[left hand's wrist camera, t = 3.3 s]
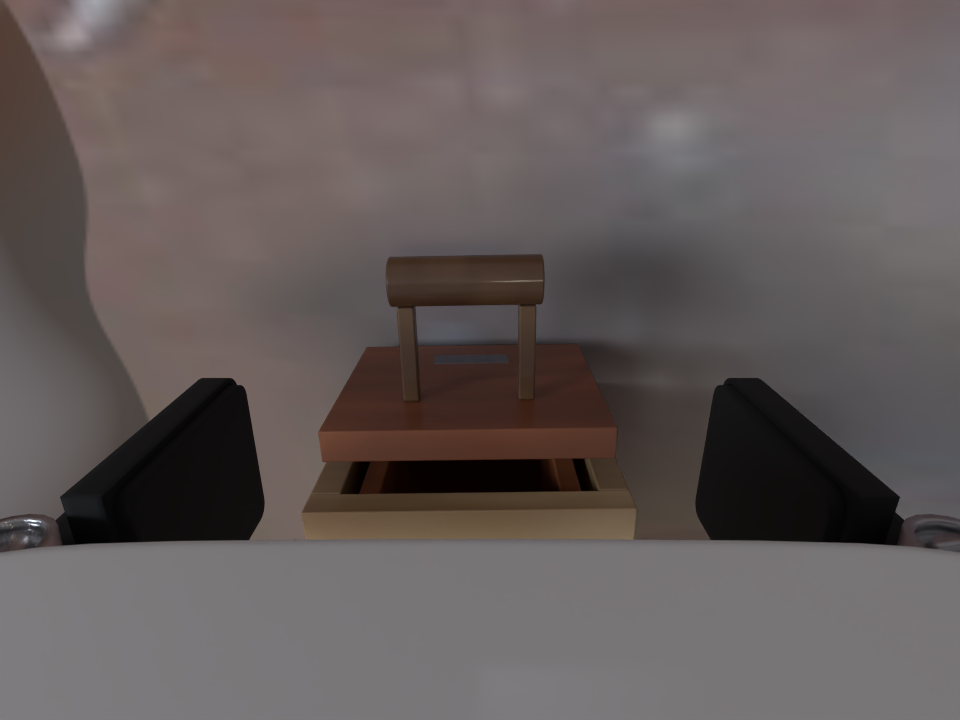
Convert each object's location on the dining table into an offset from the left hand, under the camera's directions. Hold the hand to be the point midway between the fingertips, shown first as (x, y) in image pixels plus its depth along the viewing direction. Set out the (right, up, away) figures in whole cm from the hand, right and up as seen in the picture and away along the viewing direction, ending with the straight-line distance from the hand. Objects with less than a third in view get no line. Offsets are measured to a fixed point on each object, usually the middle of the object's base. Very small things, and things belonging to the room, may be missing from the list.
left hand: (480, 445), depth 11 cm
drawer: (0, -4, +18) cm, 18 cm away
